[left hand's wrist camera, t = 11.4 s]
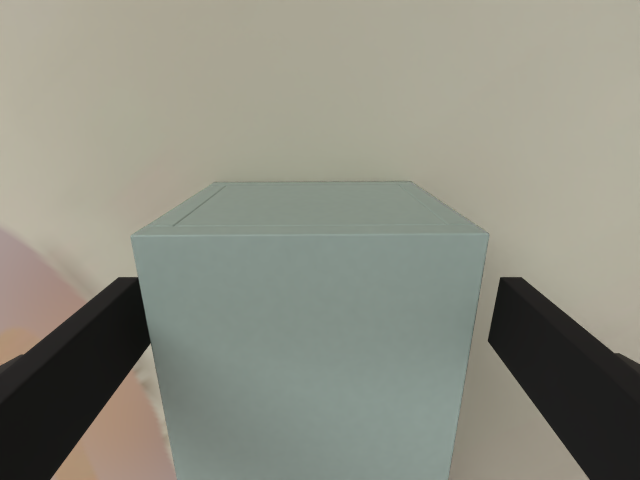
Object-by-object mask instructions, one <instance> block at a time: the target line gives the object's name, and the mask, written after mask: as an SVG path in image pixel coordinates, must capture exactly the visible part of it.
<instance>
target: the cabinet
mask: <svg viewBox="0 0 640 480" xmlns="http://www.w3.org/2000/svg"><path fill="white" fill-rule="evenodd" d="M488 240H489V233H488V232H486V231H485V230H483V229H482V228H480V227H479V226H477V225H475V224H474V223H473V222H471V221H470V220H468V219H467V218H465V217H464V216H462V215H461V214H459V213H458V212H456V211H455V210H453V209H452V208H450V207H449V206H447V205H446V204H444V203H443V202H441V201H440V200H438V199H437V198H435V197H434V196H432V195H431V194H429V193H428V192H426V191H425V190H423V189H422V188H420V187H419V186H417V185H416V184H414V183H413V182H214V183H212V184H211V185H209V186H208V187H206V188H205V189H203V190H202V191H200V192H199V193H197V194H195V195H194V196H192V197H191V198H189V199H188V200H186V201H185V202H183V203H181V204H180V205H178V206H177V207H175V208H174V209H172V210H170V211H169V212H167V213H166V214H164V215H163V216H161V217H160V218H158V219H156V220H155V221H153V222H152V223H150V224H149V225H147V226H146V227H143V228H142V229H140V230H138V231H137V232H135V233H134V234H132V235H131V242H132V247H133V252H134V258H135V263H136V268H137V273H138V278H139V284H140V289H141V294H142V299H143V304H144V310H145V315H146V320H147V325H148V330H149V336H150V341H151V346H152V351H153V356H154V362H155V367H156V372H157V377H158V382H159V388H160V393H161V398H162V403H163V409H164V414H165V419H166V424H167V429H168V435H169V440H170V445H171V450H172V455H173V461H174V466H175V471H176V476H177V480H448V478H449V472H450V466H451V460H452V454H453V448H454V442H455V436H456V430H457V424H458V418H459V412H460V407H461V401H462V395H463V389H464V383H465V377H466V371H467V365H468V359H469V353H470V347H471V341H472V335H473V329H474V323H475V317H476V311H477V305H478V299H479V293H480V287H481V282H482V276H483V270H484V264H485V258H486V252H487V246H488Z"/></svg>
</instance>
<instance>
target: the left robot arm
mask: <svg viewBox="0 0 640 480" xmlns="http://www.w3.org/2000/svg"><path fill="white" fill-rule="evenodd" d="M488 342H489V343H490V345H491V346H492V347H493V349H494V350H495V351H496V353H497V354H498V356H499V357H500V358H501V360H502V361H503V362H504V364H505V365H506V366H507V368H508V369H509V370H510V372H511V373H512V375H513V376H514V377H515V379H516V380H517V381H518V383H519V384H520V385H521V387H522V388H523V390H524V391H525V392H526V394H527V395H528V396H529V398H530V399H531V400H532V402H533V403H534V404H535V406H536V407H537V409H538V410H539V411H540V413H541V414H542V415H543V417H544V418H545V419H546V421H547V422H548V424H549V425H550V426H551V428H552V429H553V430H554V432H555V433H556V434H557V436H558V437H559V438H560V440H561V441H562V443H563V444H564V445H565V447H566V448H567V449H568V451H569V452H570V453H571V455H572V456H573V458H574V459H575V460H576V462H577V463H578V464H579V466H580V467H581V468H582V470H583V471H584V472H585V474H586V475H587V477H588V478H589V479H590V480H640V364H638V363H636V362H635V361H633V360H631V359H629V358H627V357H625V356H623V355H622V354H620V353H613V352H612V351H611V350H610V349H608V348H607V347H606V346H605V345H604V344H602V343H601V342H600V341H599V340H597V339H596V338H595V337H594V336H593V335H591V334H590V333H589V332H588V331H586V330H585V329H584V328H583V327H582V326H580V325H579V324H578V323H577V322H575V321H574V320H573V319H572V318H571V317H569V316H568V315H567V314H566V313H564V312H563V311H562V310H561V309H559V308H558V307H557V306H556V305H555V304H553V303H552V302H551V301H550V300H548V299H547V298H546V297H545V296H544V295H542V294H541V293H540V292H539V291H537V290H536V289H535V288H534V287H533V286H531V285H530V284H529V283H528V282H526V281H525V280H524V279H523V278H522V277H500V282H499V287H498V292H497V297H496V302H495V307H494V312H493V317H492V322H491V327H490V332H489V337H488ZM150 343H151V341H150V336H149V330H148V325H147V320H146V315H145V310H144V304H143V299H142V294H141V289H140V284H139V278H138V277H118V278H117V279H116V280H115V281H114V282H112V283H111V284H110V285H109V286H107V287H106V288H105V289H104V290H103V291H101V292H100V293H99V294H98V295H96V296H95V297H94V298H93V299H92V300H90V301H89V302H88V303H87V304H85V305H84V306H83V307H82V308H81V309H79V310H78V311H77V312H76V313H74V314H73V315H72V316H71V317H69V318H68V319H67V320H66V321H65V322H63V323H62V324H61V325H60V326H59V327H57V328H56V329H55V330H54V331H52V332H51V333H50V334H49V335H47V336H46V337H45V338H44V339H43V340H41V341H40V342H39V343H38V344H36V345H35V346H34V347H33V348H32V349H30V350H29V351H28V352H27V353H25V354H24V355H19V356H17V357H16V358H14V359H12V360H10V361H8V362H6V363H5V364H3V365H1V366H0V480H50V479H51V478H52V477H53V475H54V474H55V472H56V471H57V470H58V468H59V467H60V466H61V464H62V463H63V462H64V460H65V459H66V458H67V456H68V455H69V453H70V452H71V451H72V449H73V448H74V447H75V445H76V444H77V443H78V441H79V440H80V438H81V437H82V436H83V434H84V433H85V432H86V430H87V429H88V428H89V426H90V425H91V424H92V422H93V421H94V419H95V418H96V417H97V415H98V414H99V413H100V411H101V410H102V409H103V407H104V406H105V404H106V403H107V402H108V400H109V399H110V398H111V396H112V395H113V394H114V392H115V391H116V390H117V388H118V387H119V385H120V384H121V383H122V381H123V380H124V379H125V377H126V376H127V375H128V373H129V372H130V370H131V369H132V368H133V366H134V365H135V364H136V362H137V361H138V360H139V358H140V357H141V356H142V354H143V353H144V351H145V350H146V349H147V347H148V346H149V345H150Z"/></svg>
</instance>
